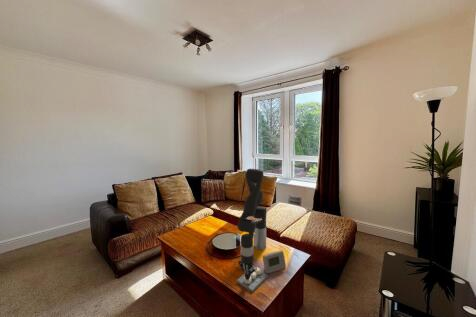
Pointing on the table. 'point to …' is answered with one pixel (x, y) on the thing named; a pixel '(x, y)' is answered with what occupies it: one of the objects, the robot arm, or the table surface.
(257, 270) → the button
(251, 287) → the button board
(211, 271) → the table surface
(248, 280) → the button
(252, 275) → the button
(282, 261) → the digital clock
